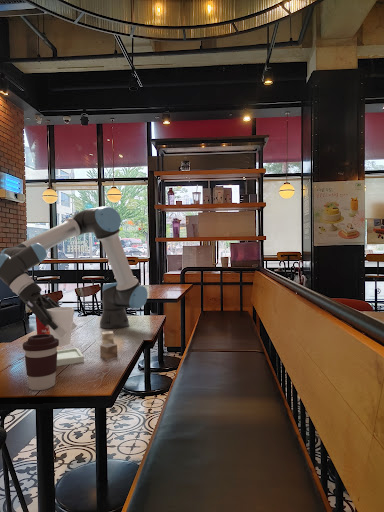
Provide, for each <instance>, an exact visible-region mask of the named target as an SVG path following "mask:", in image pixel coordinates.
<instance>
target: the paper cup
mask: <svg viewBox="0 0 384 512" xmlns="http://www.w3.org/2000/svg"><path fill="white" fill-rule="evenodd" d="M46 310H47V309H46ZM35 327H36V335H39V334H50V329H49V325H47V326H44V324H42V323H41V322H40V321H39V319H38V318H37V317H36V316H35Z"/></svg>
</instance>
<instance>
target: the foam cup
mask: <svg viewBox="0 0 384 512" xmlns="http://www.w3.org/2000/svg"><path fill="white" fill-rule="evenodd" d="M47 311H48V313H49V315H50V316H51V318H52V320H53V319H55V320H56V321H57V322H58V323H59V324H60V325H61V326H62V327H63V328H64V329H65V330H66V331H67V332H66V333H65V334H64V335H63V336H62V337H60V336H59V335H58V334H57V333H56V332H55V331H54V330H53V329H52V328H51V327H50V326H49V329H50V334H51V335H53V336H54V338H56V339H58V340H59V345H58V346H57V347H65V346H68V345H70V344H71V338H72V332H73V331H72V323H73V322H74V315H75V307H72V306H70V307H69V306H61V307H57V308H50V309H47Z"/></svg>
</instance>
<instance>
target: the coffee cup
mask: <svg viewBox="0 0 384 512" xmlns="http://www.w3.org/2000/svg"><path fill="white" fill-rule="evenodd" d="M58 345H59V340H58V339H56V338H54V336H53V335H51V334H39V335H37V334H34V335H31V336H29V337H28V338H27V341H24V342H23V343H22V350H23V351H24V353H25V355H24V358H25V359H24V360H25V370H26V371H25V372H26V376H27V383H28V384H27V385H28V388H29V389H30V390H31V391H43V390H48V389H51V388H53V387H55V385H56V372H57V368H58V366H57V351H58V349H57V348H58V347H59V346H58Z"/></svg>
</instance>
